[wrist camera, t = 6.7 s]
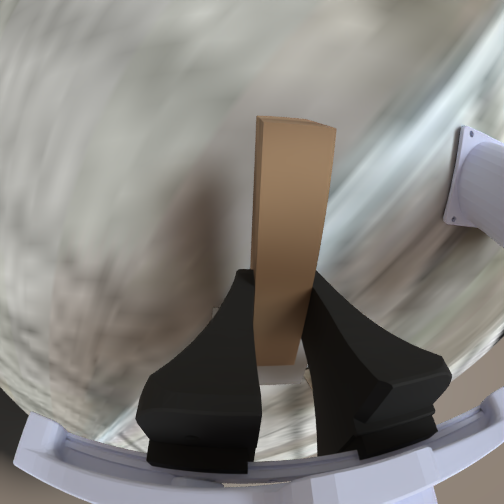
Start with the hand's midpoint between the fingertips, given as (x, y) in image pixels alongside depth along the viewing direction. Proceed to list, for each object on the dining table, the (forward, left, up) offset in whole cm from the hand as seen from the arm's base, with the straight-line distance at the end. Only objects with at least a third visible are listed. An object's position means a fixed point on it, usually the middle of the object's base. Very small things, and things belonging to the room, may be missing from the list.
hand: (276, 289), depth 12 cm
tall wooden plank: (0, +2, -2) cm, 3 cm away
